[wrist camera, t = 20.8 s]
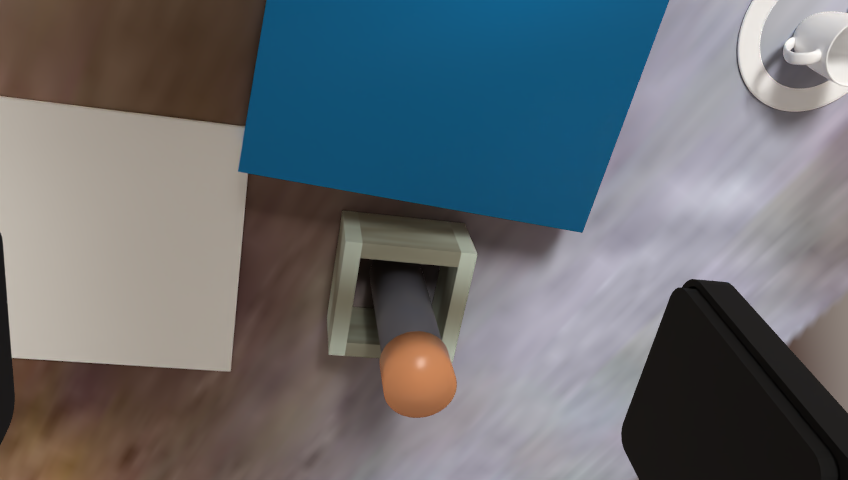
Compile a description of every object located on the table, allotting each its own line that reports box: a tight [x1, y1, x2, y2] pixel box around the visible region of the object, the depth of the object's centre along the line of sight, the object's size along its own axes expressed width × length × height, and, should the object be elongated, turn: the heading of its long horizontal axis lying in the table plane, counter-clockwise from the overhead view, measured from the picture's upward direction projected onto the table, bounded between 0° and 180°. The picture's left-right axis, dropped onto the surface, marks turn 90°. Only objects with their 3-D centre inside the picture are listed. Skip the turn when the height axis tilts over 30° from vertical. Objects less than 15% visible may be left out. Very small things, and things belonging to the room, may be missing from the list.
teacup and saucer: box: [737, 0, 848, 112], centre depth 38 cm, size 9×8×4 cm
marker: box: [369, 259, 457, 418], centre depth 38 cm, size 3×3×10 cm
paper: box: [0, 96, 248, 372], centre depth 39 cm, size 14×14×1 cm
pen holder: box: [327, 210, 477, 363], centre depth 41 cm, size 6×6×4 cm
